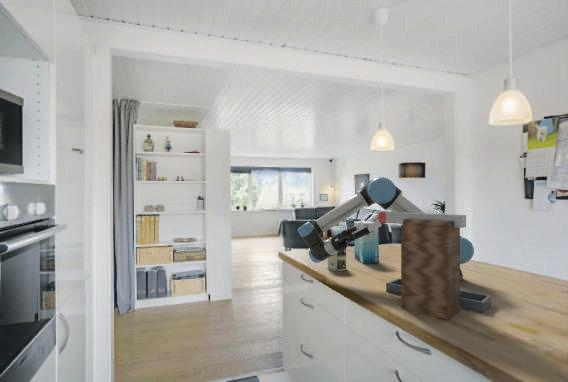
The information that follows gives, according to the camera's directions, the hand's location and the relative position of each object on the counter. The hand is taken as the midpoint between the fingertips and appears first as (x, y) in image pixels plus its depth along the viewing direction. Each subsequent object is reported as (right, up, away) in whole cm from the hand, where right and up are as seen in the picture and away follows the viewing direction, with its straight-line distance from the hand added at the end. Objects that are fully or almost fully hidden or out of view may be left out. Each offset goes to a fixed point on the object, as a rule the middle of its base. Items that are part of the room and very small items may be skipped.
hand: (372, 223), depth 138 cm
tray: (+23, -29, -8) cm, 37 cm away
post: (+15, -28, -21) cm, 38 cm away
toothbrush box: (+14, -30, +65) cm, 73 cm away
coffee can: (-8, -29, +43) cm, 52 cm away
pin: (+12, +2, -18) cm, 22 cm away
